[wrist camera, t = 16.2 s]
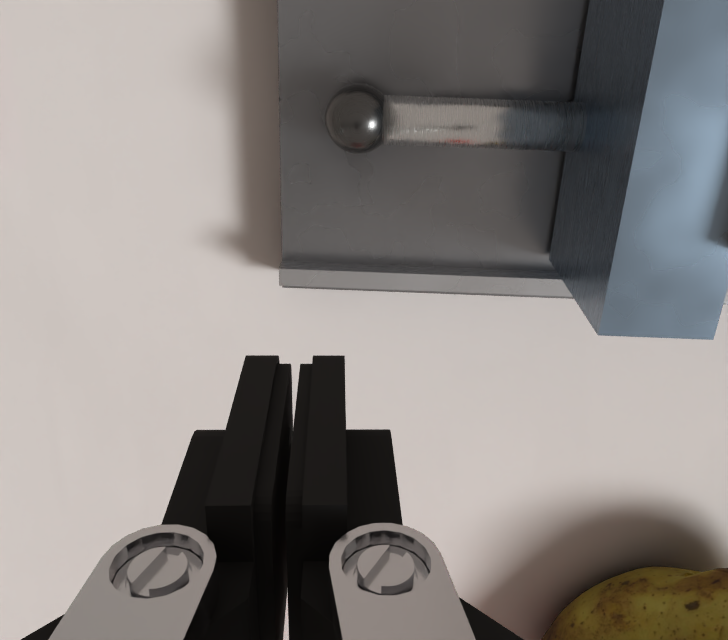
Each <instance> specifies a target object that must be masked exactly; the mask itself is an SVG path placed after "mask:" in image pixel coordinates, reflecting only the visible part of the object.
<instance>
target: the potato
mask: <svg viewBox="0 0 728 640" xmlns="http://www.w3.org/2000/svg"><path fill="white" fill-rule="evenodd" d="M541 640H728V568H717V569H713V570H708V571H704V572H699V571H693V570H687V569H681V568H673V567H657V566H651V567H645V568H640V569H636V570H632V571H629V572H626V573H623V574H620V575H617V576H615V577H612V578H610V579H607V580H605V581H603V582H601V583H599V584H597V585H595V586H594V587H592V588H590V589H588V590H587V591H585V592H584V593H582V594H581V595H580V596H578V597H577V598H576V599H575V600H574V601H572V602H571V603H570V604H569V605H568V606H567V607H566V608H565V609H564V610H563V611H562V612H561V613H560V614H559V615H558V617H557V618H556V619H555V621H554V622H553V624H552V625H551V627H550V628H549V629H548V631H547V632H546V633H545V635H544V636H543V638H542V639H541Z"/></svg>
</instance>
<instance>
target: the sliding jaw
mask: <svg viewBox="0 0 728 640" xmlns="http://www.w3.org/2000/svg"><path fill="white" fill-rule="evenodd" d="M325 127H326V130H327V133H328V135H329V137H330V139H331V140H332V141H333V143H334V144H335V145H337V146H338V147H339V148H340V149H342V150H344V151H346V152H349V153H353V154H364V153H368V152H371V151H373V150H375V149H377V148H378V147H379V146H381V145H408V146H434V147H461V148H487V149H513V150H540V151H566V154H565V160H564V167H563V173H562V180H561V186H560V192H559V199H558V205H557V211H556V218H555V224H554V231H553V237H552V243H551V250H550V256H549V261H550V262H551V264H552V265H553V267H554V268H555V270H556V271H557V273H558V274H559V276H560V278H561V279H562V281H563V282H564V284H565V285H566V287H567V288H568V290H569V291H570V293H571V294H572V296H573V298H574V299H575V301H576V302H577V304H578V305H579V307H580V308H581V310H582V311H583V313H584V314H585V316H586V318H587V319H588V321H589V322H590V324H591V325H592V327H593V328H594V330H595V331H596V333H597V334H598V335H605V336H631V337H657V338H683V339H709V340H713V339H714V335H715V332H716V328H717V324H718V321H719V317H720V314H721V310H722V306H723V303H724V299H725V296H726V292H727V288H728V0H590V1H589V7H588V13H587V20H586V26H585V33H584V39H583V45H582V52H581V58H580V65H579V71H578V77H577V84H576V90H575V97H574V102H554V101H528V100H501V99H475V98H448V97H422V96H395V95H383V94H382V93H381V92H380V91H379V90H378V89H376V88H374V87H373V86H370V85H367V84H362V83H355V84H350V85H347V86H344V87H342V88H341V89H339V90H338V91H337V92H336V93H335V94H334V95H333V96H332V97H331V99H330V100H329V102H328V104H327V107H326V110H325Z"/></svg>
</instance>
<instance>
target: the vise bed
mask: <svg viewBox="0 0 728 640" xmlns="http://www.w3.org/2000/svg"><path fill="white" fill-rule="evenodd" d="M589 1H590V0H277V2H278V59H279V116H280V173H281V230H282V262H281V265H280V267H279V285H280V286H282V287H284V288H310V289H336V290H363V291H389V292H415V293H441V294H467V295H493V296H519V297H545V298H571V299H574V298H573V296H572V294H571V293H570V291H569V290H568V288H567V287H566V285H565V284H564V282H563V281H562V279H561V278H560V276H559V274H558V273H557V271H556V270H555V268H554V267H553V265H552V264H551V262H550V261H549V256H550V250H551V243H552V237H553V231H554V224H555V218H556V211H557V205H558V199H559V192H560V186H561V180H562V173H563V167H564V160H565V154H566V151H540V150H513V149H487V148H461V147H434V146H408V145H381V146H379V147H378V148H377V149H375V150H373V151H371V152H368V153H364V154H353V153H349V152H346V151H344V150H342V149H340V148H339V147H338V146H337V145H335V144H334V143H333V141H332V140H331V139H330V137H329V135H328V133H327V130H326V127H325V110H326V107H327V104H328V102H329V100H330V99H331V97H332V96H333V95H334V94H335V93H336V92H337V91H338V90H339V89H341V88H342V87H344V86H347V85H350V84H355V83H362V84H367V85H370V86H373V87H374V88H376V89H378V90H379V91H380V92H381V93H382V94H383V95H395V96H422V97H448V98H475V99H501V100H528V101H554V102H574V97H575V90H576V84H577V77H578V71H579V65H580V58H581V52H582V45H583V39H584V33H585V26H586V20H587V13H588V7H589ZM723 304H727V305H728V288H727V292H726V296H725V299H724V303H723Z"/></svg>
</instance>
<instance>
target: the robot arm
mask: <svg viewBox="0 0 728 640" xmlns="http://www.w3.org/2000/svg"><path fill="white" fill-rule="evenodd" d="M287 587H288V616H289V640H523V639H522V638H520V637H519V636H517V635H516V634H514V633H513V632H511V631H510V630H508V629H507V628H505V627H504V626H502V625H500V624H499V623H497V622H496V621H494V620H493V619H491V618H490V617H488V616H487V615H485V614H484V613H482V612H481V611H479V610H478V609H476V608H475V607H473V606H472V605H470V604H468V603H467V602H465V601H464V600H462V599H461V598H459V597H458V594H457V592H456V589H455V587H454V584H453V582H452V579H451V577H450V575H449V572H448V570H447V567H446V565H445V562H444V560H443V557H442V555H441V553H440V551H439V550H438V548H437V547H436V545H435V544H434V542H432V541H431V540H430V539H429V538H428V537H426V536H425V535H424V534H423V533H421V532H419V531H417V530H414V529H412V528H410V527H408V526H403V524H402V517H401V509H400V501H399V493H398V485H397V477H396V469H395V462H394V454H393V446H392V438H391V432H390V430H346V412H345V359H344V356H313V363H312V364H300V373H299V382H298V391H297V400H296V409H295V419H294V428H293V414H292V375H291V364H279V356H246V357H245V361H244V364H243V368H242V371H241V375H240V379H239V382H238V386H237V390H236V393H235V397H234V401H233V404H232V408H231V412H230V415H229V419H228V423H227V426H226V430H196V431H195V432H194V434H193V436H192V438H191V441H190V444H189V447H188V450H187V453H186V456H185V458H184V461H183V464H182V467H181V470H180V473H179V476H178V479H177V481H176V484H175V487H174V490H173V493H172V496H171V499H170V501H169V504H168V507H167V510H166V513H165V516H164V519H163V522H162V524H161V525H158V526H153V527H148V528H144V529H141V530H139V531H136V532H134V533H132V534H129V535H127V536H125V537H124V538H122V539H121V540H120V541H118V542H117V543H115V544H114V545H112V546H111V548H110V549H109V550H108V551H107V552H106V553H105V554H104V555H103V557H102V558H101V559H100V561H99V562H98V564H97V565H96V567H95V568H94V570H93V572H92V573H91V575H90V576H89V578H88V579H87V581H86V582H85V584H84V585H83V587H82V589H81V590H80V592H79V593H78V595H77V596H76V598H75V599H74V601H73V602H72V604H71V605H70V607H69V609H68V610H67V612H66V613H65V614H64V615H62V616H61V617H59V618H57V619H55V620H54V621H52V622H50V623H49V624H47V625H45V626H43V627H42V628H40V629H38V630H37V631H35V632H33V633H31V634H30V635H28V636H26V637H25V638H23V639H21V640H283V632H284V621H285V609H286V598H287Z"/></svg>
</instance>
